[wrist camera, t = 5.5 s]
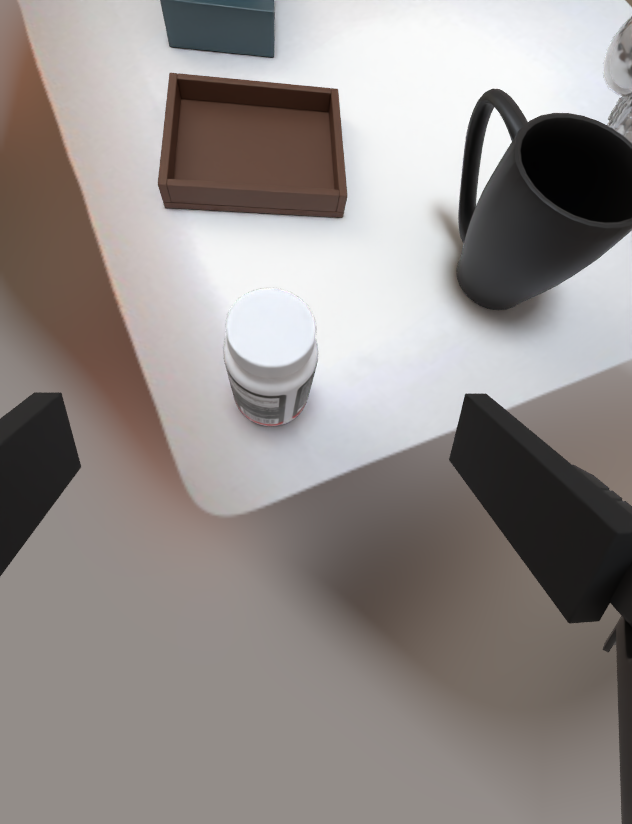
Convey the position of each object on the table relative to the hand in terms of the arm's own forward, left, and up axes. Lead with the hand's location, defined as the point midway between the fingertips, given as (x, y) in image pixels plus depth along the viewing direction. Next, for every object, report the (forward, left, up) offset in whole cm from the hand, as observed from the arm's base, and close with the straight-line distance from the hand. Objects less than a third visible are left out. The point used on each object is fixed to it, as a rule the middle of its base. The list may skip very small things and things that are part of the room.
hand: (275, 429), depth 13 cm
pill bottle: (0, +5, -11) cm, 12 cm away
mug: (+16, +16, -11) cm, 25 cm away
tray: (-1, +25, -11) cm, 28 cm away
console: (-4, +43, -11) cm, 45 cm away
